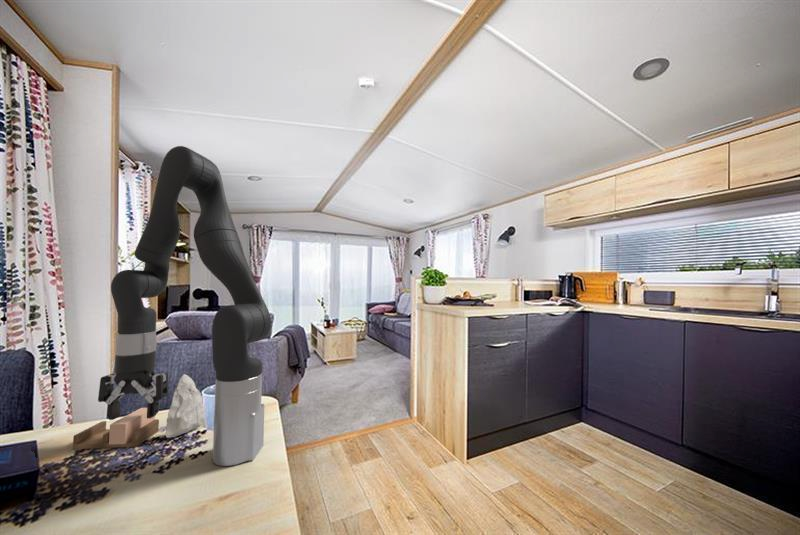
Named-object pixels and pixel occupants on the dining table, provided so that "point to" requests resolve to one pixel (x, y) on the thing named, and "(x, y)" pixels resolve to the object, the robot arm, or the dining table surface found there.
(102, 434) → the rack
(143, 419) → the pink rectangular block
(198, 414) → the stone tool
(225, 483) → the dining table surface
